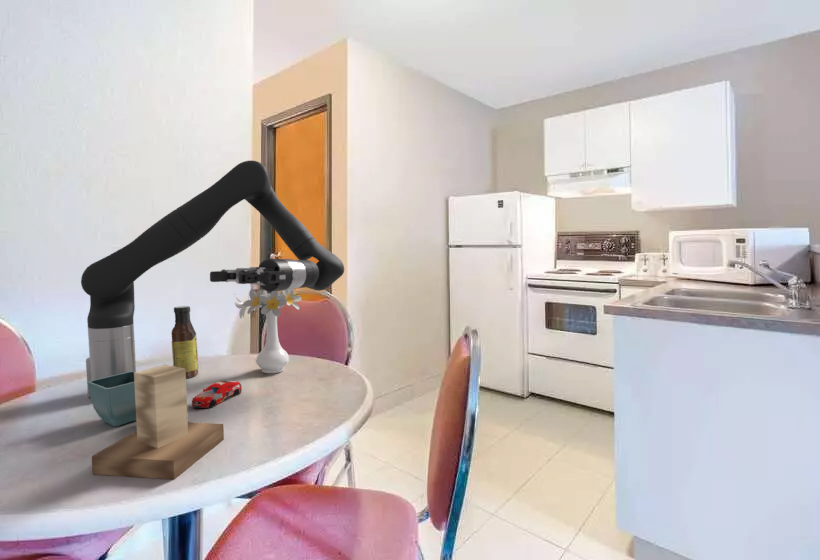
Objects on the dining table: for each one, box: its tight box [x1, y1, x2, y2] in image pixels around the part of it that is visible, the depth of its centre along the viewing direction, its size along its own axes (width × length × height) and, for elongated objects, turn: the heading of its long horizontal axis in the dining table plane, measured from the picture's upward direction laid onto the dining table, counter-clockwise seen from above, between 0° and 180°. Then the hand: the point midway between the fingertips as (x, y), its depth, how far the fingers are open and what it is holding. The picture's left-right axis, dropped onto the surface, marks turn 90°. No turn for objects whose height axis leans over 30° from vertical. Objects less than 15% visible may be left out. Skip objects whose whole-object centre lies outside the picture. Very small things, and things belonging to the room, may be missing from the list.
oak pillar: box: [134, 364, 189, 448], centre depth 73 cm, size 6×6×12 cm
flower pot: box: [86, 371, 136, 427], centre depth 88 cm, size 9×9×9 cm
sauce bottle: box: [171, 305, 199, 379], centre depth 119 cm, size 6×6×20 cm
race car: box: [191, 380, 243, 409], centre depth 101 cm, size 13×5×4 cm, turn 161°
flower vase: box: [234, 289, 302, 374], centre depth 124 cm, size 13×18×25 cm
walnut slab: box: [91, 421, 225, 480], centre depth 73 cm, size 14×14×3 cm
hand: (225, 277), depth 86 cm, fingers open, 8 cm apart
